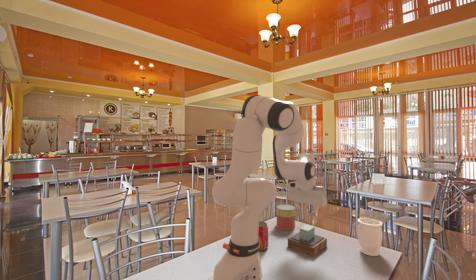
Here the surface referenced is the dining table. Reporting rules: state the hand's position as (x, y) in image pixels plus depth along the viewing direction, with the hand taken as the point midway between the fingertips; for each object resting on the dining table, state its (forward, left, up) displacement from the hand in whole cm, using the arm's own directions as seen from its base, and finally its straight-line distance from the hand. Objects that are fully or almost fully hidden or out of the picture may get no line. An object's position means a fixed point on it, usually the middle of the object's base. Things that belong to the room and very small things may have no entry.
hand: (306, 212), depth 114 cm
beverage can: (-18, +16, -18) cm, 29 cm away
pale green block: (0, 0, -13) cm, 13 cm away
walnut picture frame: (0, 0, -17) cm, 17 cm away
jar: (+16, -24, -18) cm, 34 cm away
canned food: (+14, +22, -18) cm, 31 cm away
